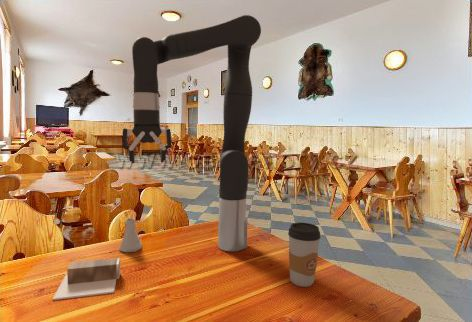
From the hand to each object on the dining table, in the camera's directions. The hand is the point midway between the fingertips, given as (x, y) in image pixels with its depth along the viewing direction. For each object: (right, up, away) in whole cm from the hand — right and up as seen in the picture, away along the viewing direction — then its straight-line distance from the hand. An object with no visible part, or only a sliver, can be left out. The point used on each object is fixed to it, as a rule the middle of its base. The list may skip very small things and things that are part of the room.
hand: (147, 162), depth 91 cm
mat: (-11, -31, -13) cm, 35 cm away
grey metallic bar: (-4, -28, -12) cm, 31 cm away
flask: (-8, -29, +7) cm, 31 cm away
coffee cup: (+45, -32, -11) cm, 56 cm away
